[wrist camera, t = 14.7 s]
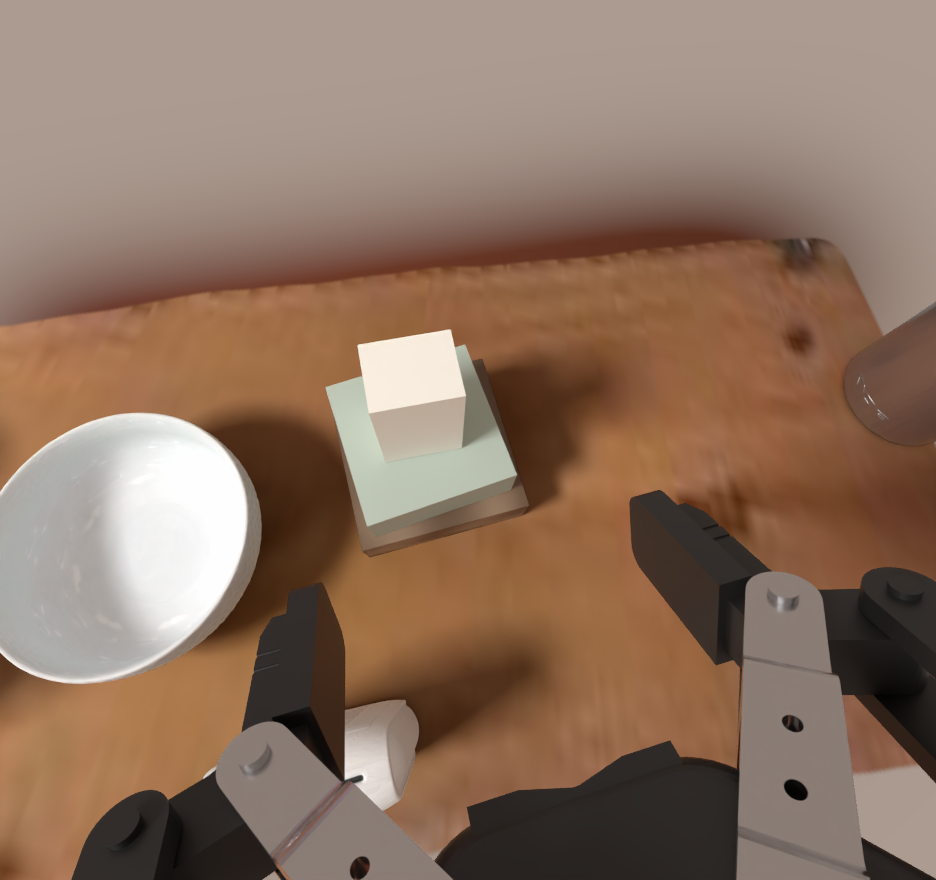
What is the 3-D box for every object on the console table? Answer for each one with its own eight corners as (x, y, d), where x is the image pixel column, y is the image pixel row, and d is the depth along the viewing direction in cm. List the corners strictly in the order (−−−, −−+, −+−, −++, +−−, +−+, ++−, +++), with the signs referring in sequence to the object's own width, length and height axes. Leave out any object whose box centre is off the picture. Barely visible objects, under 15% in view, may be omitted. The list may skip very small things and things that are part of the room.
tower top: (463, 370, 41) (464, 344, 38) (510, 489, 38) (517, 474, 35) (337, 409, 40) (325, 387, 36) (375, 536, 37) (367, 526, 33)
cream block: (449, 393, 36) (450, 329, 29) (461, 447, 35) (466, 395, 28) (376, 406, 36) (357, 344, 28) (385, 462, 35) (368, 413, 27)
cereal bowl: (187, 403, 44) (139, 363, 37) (329, 541, 40) (304, 524, 34) (2, 561, 39) (-91, 548, 33) (143, 730, 36) (73, 754, 29)
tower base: (480, 380, 46) (482, 358, 42) (522, 516, 42) (529, 505, 38) (339, 415, 44) (329, 395, 40) (370, 558, 41) (362, 551, 37)
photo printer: (270, 802, 35) (176, 890, 23) (262, 729, 36) (171, 779, 25) (425, 759, 36) (411, 823, 24) (412, 690, 37) (393, 719, 26)
